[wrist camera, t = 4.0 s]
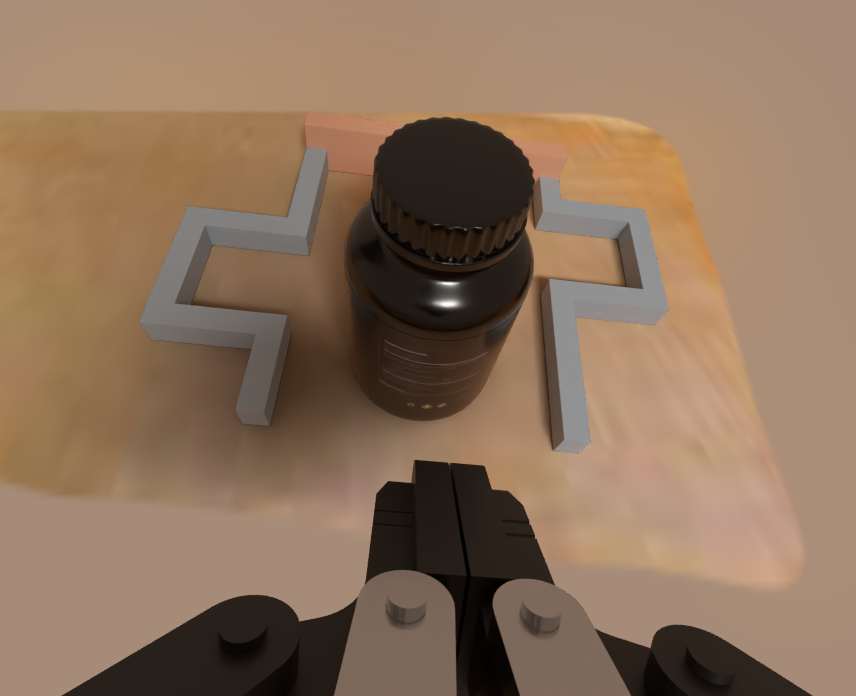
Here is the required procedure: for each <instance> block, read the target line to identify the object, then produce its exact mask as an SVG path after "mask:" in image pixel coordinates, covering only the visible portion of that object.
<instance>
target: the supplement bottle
mask: <svg viewBox="0 0 856 696" xmlns="http://www.w3.org/2000/svg"><path fill="white" fill-rule="evenodd" d="M533 171H534V170H533V169H532V167H531V166H530V165H529V159H528V158H527V157H526V156H525V155H524V154H523V151H522V149H520V148H519V147H517V146H516V145H515V143H514V142H513V140H511V139H509V138H507V137H505V136H504V135H503V134H502V133H501V132H498V131H495V130H493V129H492V128H491V127H489V126H486V125H481V124H479V123H477V122H476V121H467V120H464V119H462V118H456V119H453V118H449V117H443V118H433V117H432V118H429V119H427V120H417V121H416V122H414V123H410V124H406V125H404V126H403V127H402V128H400V129H397V130H395V131H394V132H393V134H392V135H390V136H388V137H386V139H385V142H384V143H383V144H382V145H380V146H379V148H378V154H377V155H376V156H375V159H374V171H373V188H372V192H371V199H370V200H368V201H367V203H366V204H365V205H364V206H363V207H362V208H361V209H360V210H359V212H358V213H357V214H356V216H355V218H354V219H353V221H352V223H351V225H350V227H349V230H348V233H347V236H346V240H345V247H344V268H345V282H346V295H347V309H348V322H349V336H350V349H351V359H352V366H353V370H354V374H355V377H356V379H357V381H358V383H359V385H360V387H361V389H362V390H363V391H364V393H365V394H366V395H367V396H368V397H369V399H370V400H372V401H373V402H374V403H375V404H376V405H377V406H379V407H380V408H381V409H383V410H385V411H386V412H388V413H390V414H392V415H395V416H397V417H400V418H404V419H408V420H414V421H432V420H438V419H442V418H446V417H449V416H451V415H454V414H456V413H457V412H459V411H461V410H463V409H464V408H466V407H467V406H468V405H469V404H470V403H472V401H473V400H474V399H475V398H476V397H477V396H478V394H479V393H480V392H481V390H482V389H483V387H484V385H485V383H486V381H487V379H488V377H489V375H490V372H491V371H492V368H493V366H494V364H495V362H496V360H497V358H498V356H499V353H500V351H501V349H502V347H503V345H504V343H505V341H506V338H507V336H508V334H509V332H510V330H511V328H512V325H513V323H514V321H515V319H516V317H517V315H518V313H519V310H520V308H521V306H522V304H523V302H524V300H525V297H526V295H527V293H528V290H529V287H530V284H531V281H532V277H533V270H534V258H533V251H532V246H531V243H530V239H529V237H528V234H527V232H526V230H525V227H526V223H527V213H528V210H529V208H530V205H531V202H532V200H533V196H534V187H535V179H534V177H533Z"/></svg>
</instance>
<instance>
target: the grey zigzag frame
mask: <svg viewBox="0 0 856 696" xmlns="http://www.w3.org/2000/svg"><path fill="white" fill-rule="evenodd" d="M403 126H404V124H397V123H389V122H381V121H374V120H366V119H358V118H351V117H343V116H335V115H328V114H320V113H312V112H308V113H307V116H306V120H305V123H304V128H305V137H306V145H307V148H306V152H305V155H304V159H303V163H302V166H301V170H300V174H299V177H298V181H297V185H296V188H295V192H294V196H293V199H292V203H291V207H290V210H289V214H288V218H287V217H279V216H270V215H261V214H253V213H244V212H235V211H227V210H218V209H210V208H201V207H192V206H188V207H187V210H186V212H185V214H184V217H183V219H182V222H181V224H180V226H179V229H178V231H177V233H176V236H175V238H174V241H173V243H172V245H171V248H170V250H169V252H168V255H167V257H166V259H165V262H164V264H163V267H162V269H161V271H160V274H159V276H158V278H157V281H156V283H155V285H154V288H153V290H152V293H151V295H150V297H149V300H148V302H147V304H146V307H145V309H144V312H143V314H142V316H141V319H140V321H139V323H140V324H141V326H142V327H143V329H144V330H145V331H146V333H147V334H148V336H149V337H150V338H151V340H162V341H172V342H182V343H192V344H202V345H213V346H223V347H233V348H243V349H252V350H251V353H250V357H249V361H248V364H247V368H246V372H245V375H244V379H243V383H242V386H241V390H240V394H239V397H238V401H237V405H236V408H235V411H236V413H237V415H238V416H239V418H240V420H241V422H242V423H243V424H253V425H264V426H270V423H271V419H272V414H273V410H274V406H275V401H276V397H277V393H278V388H279V384H280V380H281V375H282V371H283V367H284V362H285V358H286V353H287V349H288V345H289V340H290V336H291V328H290V324H289V320H288V316H287V315H281V314H271V313H261V312H252V311H242V310H232V309H223V308H213V307H203V306H194V305H191V302H192V300H193V297H194V294H195V292H196V289H197V286H198V283H199V281H200V278H201V275H202V272H203V270H204V267H205V264H206V262H207V259H208V256H209V253H210V251H211V248H212V245H217V246H226V247H235V248H244V249H253V250H262V251H271V252H280V253H289V254H298V255H307V256H309V253H310V249H311V245H312V240H313V236H314V232H315V227H316V223H317V219H318V214H319V210H320V205H321V201H322V197H323V192H324V188H325V184H326V179H327V175H328V171H329V170H331V171H339V172H347V173H356V174H364V175H372V176H373V171H374V159H375V156H376V155H377V154H378V148H379V146H380V145H382V144H383V143H384V142H385V139H386V137H388V136H390V135H392V134H393V132H394V131H395V130H397V129H400V128H402V127H403ZM509 139H511V140H513V142H514V143H515V145H516V146H517V147H519V148H520V149H522V151H523V154H524V155H525V156H526V157H527V158H528V159H529V165H530V166H531V167H532V169H533V170H534V171H533V177H534V179H535V187H534V196H533V206H534V218H535V230H542V231H551V232H559V233H568V234H576V235H585V236H593V237H601V238H610V239H618V243H619V248H620V253H621V258H622V263H623V269H624V274H625V279H626V284H627V287H619V286H610V285H601V284H592V283H583V282H574V281H565V280H556V279H549V280H548V282H547V284H546V286H545V288H544V290H543V292H542V294H541V305H542V317H543V330H544V342H545V355H546V367H547V379H548V392H549V404H550V416H551V429H552V441H553V451H560V452H571V453H579V452H580V451H581V450H583V449H584V448H585V447H586V446H587V445H588V444H589V443H591V439H590V431H589V422H588V414H587V406H586V398H585V390H584V381H583V373H582V365H581V357H580V349H579V341H578V332H577V324H576V317H583V318H592V319H601V320H611V321H620V322H629V323H639V324H648V325H656V324H657V322H658V321H659V320H660V319H661V318H662V317H663V316H664V315H665V314H666V313H667V312H668V311H669V307H668V303H667V299H666V294H665V290H664V286H663V282H662V278H661V274H660V270H659V266H658V261H657V257H656V253H655V249H654V245H653V241H652V237H651V232H650V228H649V224H648V220H647V216H646V212H645V210H643V209H635V208H627V207H619V206H610V205H602V204H594V203H586V202H578V201H570V200H562V199H561V193H560V185H559V177H560V175H561V172H562V170H563V168H564V165H565V163H566V160H567V153H566V146H565V145H558V144H550V143H542V142H535V141H527V140H519V139H512V138H509Z"/></svg>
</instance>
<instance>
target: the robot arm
mask: <svg viewBox="0 0 856 696" xmlns="http://www.w3.org/2000/svg"><path fill="white" fill-rule="evenodd" d="M62 696H812V695H810V694H809V693H807V692H806V691H804V690H803V689H801V688H799V687H797V686H796V685H795V684H793V683H792V682H790V681H788V680H787V679H785V678H783V677H782V676H781V675H779V674H777V673H776V672H774V671H773V670H771V669H769V668H768V667H766V666H765V665H763V664H761V663H760V662H758V661H757V660H755V659H754V658H752V657H750V656H749V655H747V654H746V653H744V652H743V651H741V650H740V649H738V648H736V647H735V646H733V645H732V644H730V643H729V642H727V641H725V640H723V639H722V638H720V637H718V636H716V635H714V634H712V633H710V632H707V631H705V630H702V629H699V628H695V627H691V626H686V625H670V626H666V627H663V628H661V629H660V630H658V631H657V632H656V634H655V635H654V638H653V640H652V644H651V648H648V647H645V646H642V645H638V644H635V643H632V642H629V641H626V640H623V639H620V638H617V637H614V636H611V635H608V634H606V633H603V632H601V631H599V630H597V629H595V628H594V626H593V625H592V623H591V621H590V619H589V617H588V616H587V614H586V612H585V611H584V609H583V607H582V606H581V605H580V604H579V603H578V601H577V600H576V599H574V598H573V597H572V596H571V595H570V594H568V593H567V592H565V591H564V590H562V589H560V588H558V587H557V586H555V584H554V582H553V579H552V577H551V574H550V572H549V569H548V567H547V564H546V562H545V559H544V557H543V554H542V552H541V549H540V547H539V544H538V542H537V539H535V534H534V532H533V529H532V527H531V525H529V519H528V517H527V514H526V512H525V509H524V507H523V505H522V504H521V503H520V502H519V501H518V500H517V499H516V498H515V497H514V496H513V495H512V494H510V493H509V492H508V491H503V490H492V488H491V485H490V482H489V479H488V475H487V472H486V469H485V467H484V466H481V465H469V464H458V463H450V465H449V464H448V463H445V462H433V461H421V460H414V465H413V473H412V482H411V483H404V482H392V481H388V482H387V483H386V484H385V485H384V486H383V487H382V488H381V489H380V491H379V492H378V493H377V494H376V502H375V510H374V518H373V526H372V534H371V542H370V551H369V559H368V567H367V575H366V581H365V585H364V586H363V588H362V590H361V591H360V593H359V596H358V597H357V598H356V599H355V600H354V601H353V602H352V603H351V604H350V605H348V606H347V607H345V608H344V609H342V610H340V611H338V612H336V613H333V614H331V615H328V616H324V617H320V618H315V619H310V620H305V621H300V622H299V619H298V617H297V615H296V613H295V612H294V610H293V609H292V608H291V607H290V606H289V605H287V604H286V603H284V602H283V601H281V600H278V599H276V598H273V597H269V596H263V595H246V596H239V597H236V598H232V599H229V600H226V601H223V602H221V603H219V604H217V605H215V606H213V607H211V608H209V609H208V610H206V611H204V612H203V613H201V614H199V615H198V616H196V617H194V618H192V619H191V620H189V621H187V622H186V623H184V624H183V625H181V626H179V627H177V628H176V629H174V630H172V631H171V632H169V633H167V634H165V635H164V636H162V637H160V638H159V639H157V640H155V641H154V642H152V643H151V644H148V645H147V646H145V647H143V648H142V649H140V650H138V651H137V652H135V653H133V654H132V655H130V656H128V657H126V658H125V659H123V660H121V661H120V662H118V663H116V664H115V665H113V666H111V667H110V668H108V669H106V670H104V671H103V672H101V673H99V674H98V675H96V676H94V677H93V678H91V679H89V680H88V681H86V682H84V683H83V684H81V685H79V686H77V687H76V688H74V689H72V690H71V691H69V692H67V693H65V694H64V695H62Z"/></svg>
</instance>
